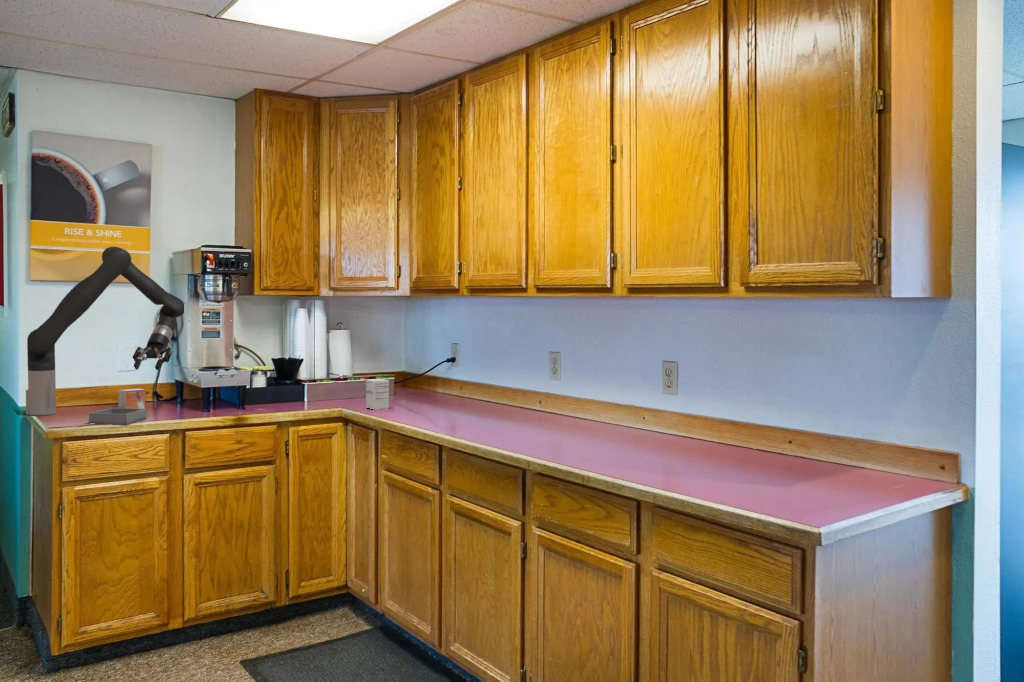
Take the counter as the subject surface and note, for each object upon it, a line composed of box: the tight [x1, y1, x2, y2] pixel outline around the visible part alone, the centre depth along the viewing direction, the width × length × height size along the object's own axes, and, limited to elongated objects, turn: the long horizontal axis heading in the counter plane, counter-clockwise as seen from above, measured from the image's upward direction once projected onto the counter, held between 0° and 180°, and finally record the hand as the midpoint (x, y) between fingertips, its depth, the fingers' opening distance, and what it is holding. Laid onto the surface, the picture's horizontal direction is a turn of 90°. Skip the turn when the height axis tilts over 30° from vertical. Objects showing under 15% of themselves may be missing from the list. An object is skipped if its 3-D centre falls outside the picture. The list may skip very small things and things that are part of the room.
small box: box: [117, 387, 146, 409], centre depth 311 cm, size 8×6×10 cm
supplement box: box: [365, 378, 390, 410], centre depth 340 cm, size 7×7×13 cm
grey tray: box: [88, 407, 148, 426], centre depth 298 cm, size 14×14×4 cm
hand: (146, 368), depth 321 cm, fingers open, 8 cm apart
